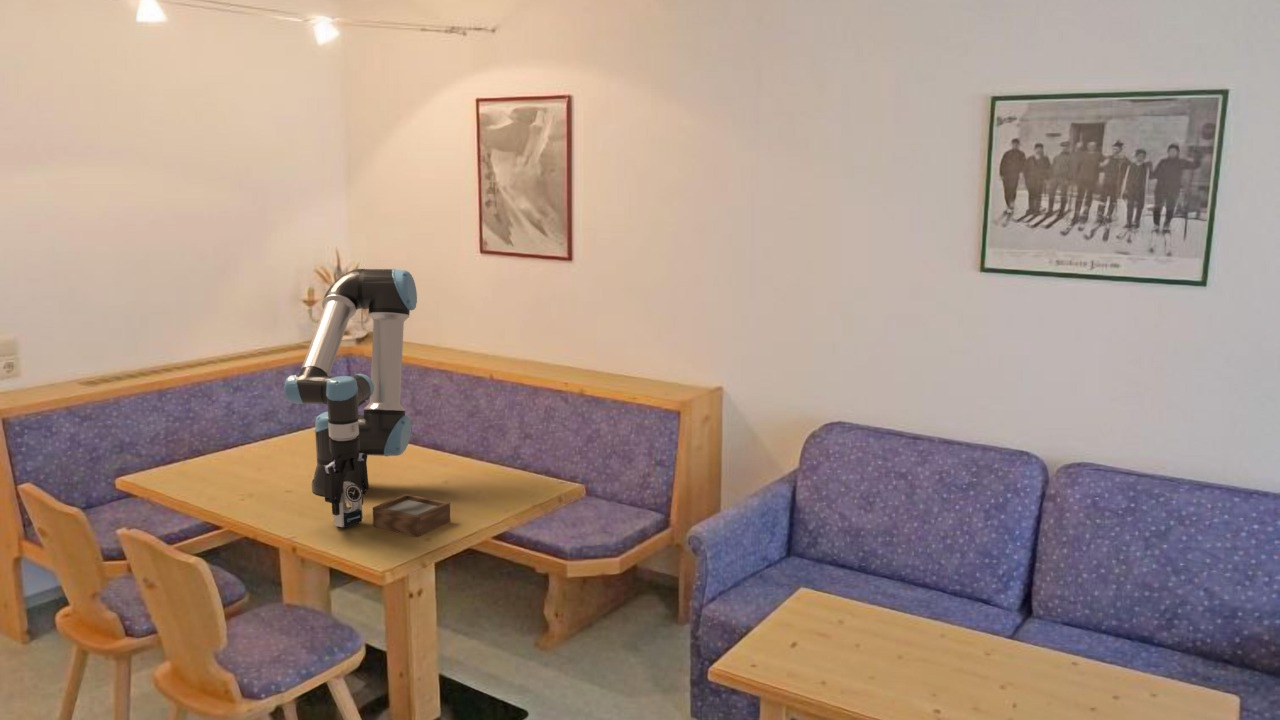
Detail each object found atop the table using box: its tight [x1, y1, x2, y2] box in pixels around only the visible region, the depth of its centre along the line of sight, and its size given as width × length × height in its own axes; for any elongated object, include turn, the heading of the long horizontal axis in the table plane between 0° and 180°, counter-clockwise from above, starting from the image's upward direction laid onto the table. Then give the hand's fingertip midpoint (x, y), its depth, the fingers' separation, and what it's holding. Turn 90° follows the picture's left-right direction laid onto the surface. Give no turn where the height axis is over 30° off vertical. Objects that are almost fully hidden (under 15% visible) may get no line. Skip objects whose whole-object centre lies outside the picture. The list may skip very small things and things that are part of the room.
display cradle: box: [372, 493, 451, 538], centre depth 263 cm, size 15×13×5 cm
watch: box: [335, 481, 363, 528], centre depth 260 cm, size 6×8×11 cm
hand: (348, 521), depth 261 cm, fingers closed on watch, 6 cm apart
